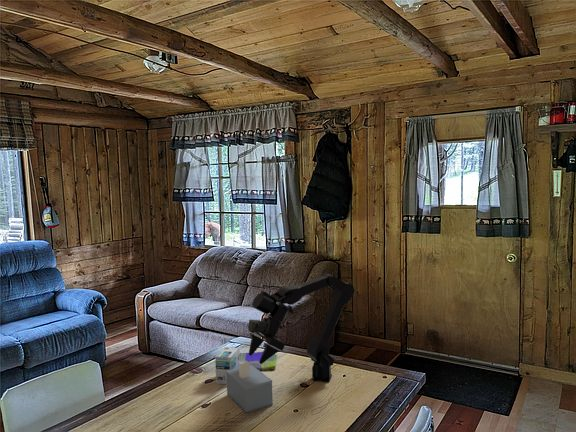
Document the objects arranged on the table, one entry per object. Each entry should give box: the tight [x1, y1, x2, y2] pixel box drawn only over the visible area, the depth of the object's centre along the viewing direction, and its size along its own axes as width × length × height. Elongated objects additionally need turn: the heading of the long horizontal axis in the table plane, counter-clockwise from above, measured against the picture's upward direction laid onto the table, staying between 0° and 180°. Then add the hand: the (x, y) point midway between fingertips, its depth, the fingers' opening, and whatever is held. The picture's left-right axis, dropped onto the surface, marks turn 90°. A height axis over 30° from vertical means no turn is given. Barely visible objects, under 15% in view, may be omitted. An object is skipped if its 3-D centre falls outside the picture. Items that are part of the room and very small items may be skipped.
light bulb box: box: [214, 346, 241, 385], centre depth 179 cm, size 11×7×11 cm, turn 168°
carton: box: [226, 374, 274, 414], centre depth 160 cm, size 10×16×8 cm, turn 31°
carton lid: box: [226, 361, 273, 390], centre depth 160 cm, size 10×16×6 cm, turn 31°
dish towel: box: [239, 351, 278, 372], centre depth 194 cm, size 18×24×3 cm
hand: (254, 359), depth 162 cm, fingers open, 9 cm apart
